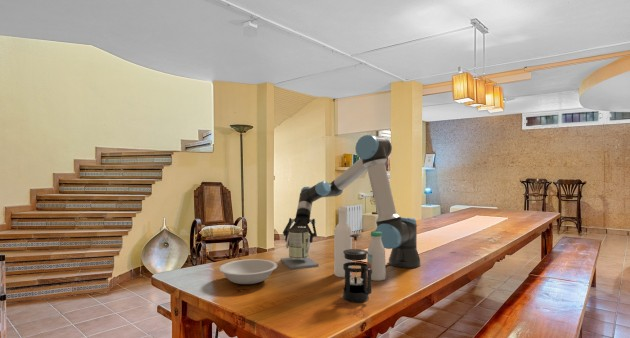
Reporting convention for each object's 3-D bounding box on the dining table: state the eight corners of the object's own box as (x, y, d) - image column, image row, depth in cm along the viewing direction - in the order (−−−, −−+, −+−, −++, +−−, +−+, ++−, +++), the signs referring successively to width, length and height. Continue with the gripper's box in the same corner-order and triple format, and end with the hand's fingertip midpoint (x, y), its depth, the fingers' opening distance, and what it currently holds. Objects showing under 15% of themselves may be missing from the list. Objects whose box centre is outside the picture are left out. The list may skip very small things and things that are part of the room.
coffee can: (290, 254, 183) (290, 227, 183) (310, 254, 182) (310, 227, 182) (286, 259, 173) (286, 230, 173) (307, 259, 172) (307, 230, 172)
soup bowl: (215, 277, 154) (215, 262, 154) (268, 271, 164) (268, 256, 164) (223, 295, 132) (223, 277, 132) (284, 286, 142) (284, 270, 142)
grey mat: (318, 266, 171) (318, 264, 171) (290, 269, 166) (290, 267, 166) (306, 257, 188) (306, 255, 188) (280, 260, 183) (280, 258, 183)
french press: (336, 297, 129) (335, 234, 129) (352, 291, 136) (352, 231, 136) (361, 306, 121) (361, 239, 121) (377, 299, 127) (377, 235, 128)
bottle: (333, 272, 161) (333, 206, 161) (351, 272, 161) (350, 206, 161) (334, 277, 153) (334, 208, 153) (353, 277, 153) (352, 208, 153)
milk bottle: (386, 276, 154) (386, 230, 154) (384, 282, 147) (383, 233, 147) (369, 275, 157) (368, 230, 157) (365, 280, 150) (365, 232, 150)
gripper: (325, 216, 191) (320, 252, 175) (284, 215, 194) (276, 250, 179) (323, 207, 185) (319, 243, 170) (282, 206, 189) (273, 242, 174)
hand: (297, 247), depth 174 cm, fingers closed on coffee can, 10 cm apart
